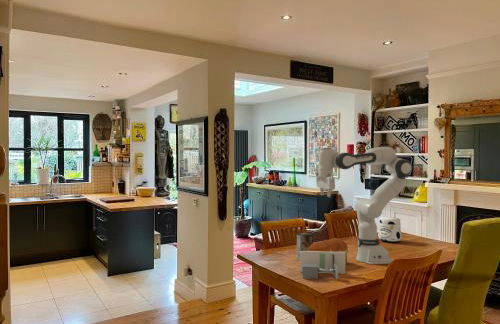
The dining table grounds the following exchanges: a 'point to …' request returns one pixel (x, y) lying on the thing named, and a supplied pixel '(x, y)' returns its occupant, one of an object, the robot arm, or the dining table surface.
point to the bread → (330, 246)
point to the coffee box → (303, 242)
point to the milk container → (389, 229)
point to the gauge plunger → (334, 270)
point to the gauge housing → (320, 262)
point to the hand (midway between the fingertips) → (325, 195)
